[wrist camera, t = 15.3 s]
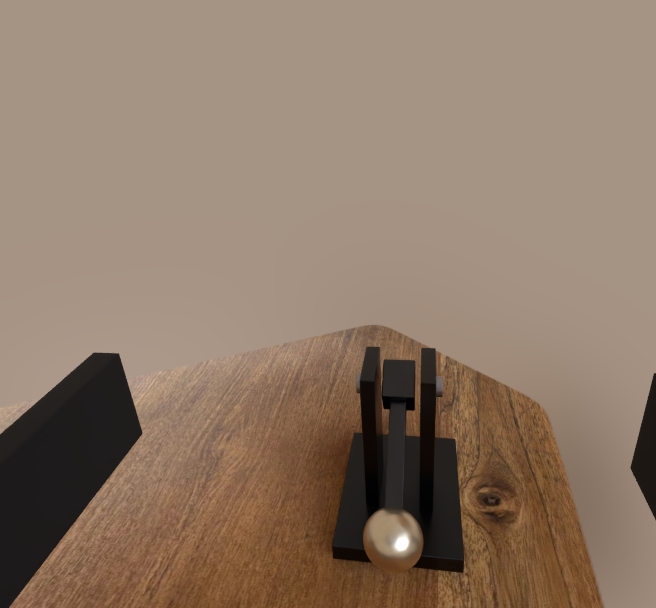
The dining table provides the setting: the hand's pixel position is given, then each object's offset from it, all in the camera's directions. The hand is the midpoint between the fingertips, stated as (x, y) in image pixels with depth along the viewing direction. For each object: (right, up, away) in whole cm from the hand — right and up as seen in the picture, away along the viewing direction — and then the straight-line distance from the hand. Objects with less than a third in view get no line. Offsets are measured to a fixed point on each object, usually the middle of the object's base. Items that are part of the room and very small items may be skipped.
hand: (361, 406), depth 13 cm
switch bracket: (+5, -13, +27) cm, 31 cm away
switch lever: (+4, -9, +21) cm, 23 cm away
